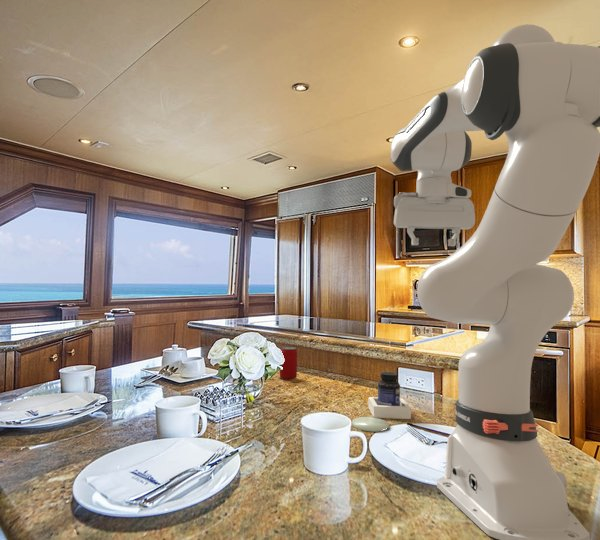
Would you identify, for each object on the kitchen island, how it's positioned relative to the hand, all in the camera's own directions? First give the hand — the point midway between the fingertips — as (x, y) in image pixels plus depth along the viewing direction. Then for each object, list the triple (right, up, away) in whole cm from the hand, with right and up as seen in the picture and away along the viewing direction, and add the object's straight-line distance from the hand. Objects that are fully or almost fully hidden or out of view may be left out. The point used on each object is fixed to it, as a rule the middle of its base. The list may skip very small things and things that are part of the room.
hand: (433, 245), depth 101 cm
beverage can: (-39, -49, +52) cm, 82 cm away
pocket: (-9, -47, +9) cm, 49 cm away
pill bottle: (-9, -47, +9) cm, 49 cm away
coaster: (-17, -46, -2) cm, 49 cm away
